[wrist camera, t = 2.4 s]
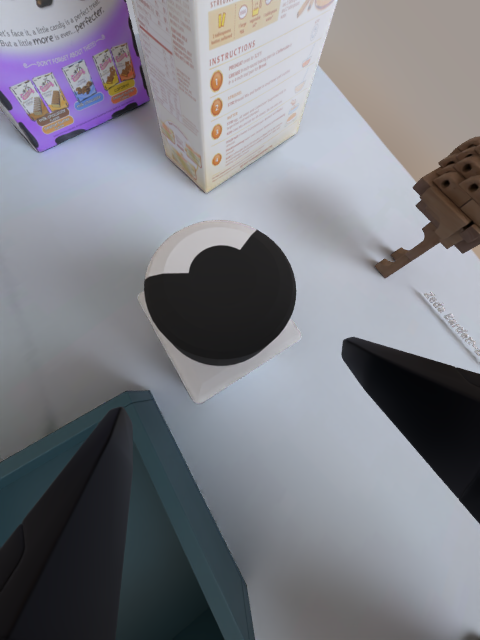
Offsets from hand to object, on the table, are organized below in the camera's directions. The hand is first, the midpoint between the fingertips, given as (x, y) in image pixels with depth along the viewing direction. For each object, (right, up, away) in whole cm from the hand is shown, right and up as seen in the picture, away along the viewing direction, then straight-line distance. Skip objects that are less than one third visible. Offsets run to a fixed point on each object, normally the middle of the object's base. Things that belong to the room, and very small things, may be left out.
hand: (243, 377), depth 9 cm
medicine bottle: (-2, 0, +11) cm, 11 cm away
